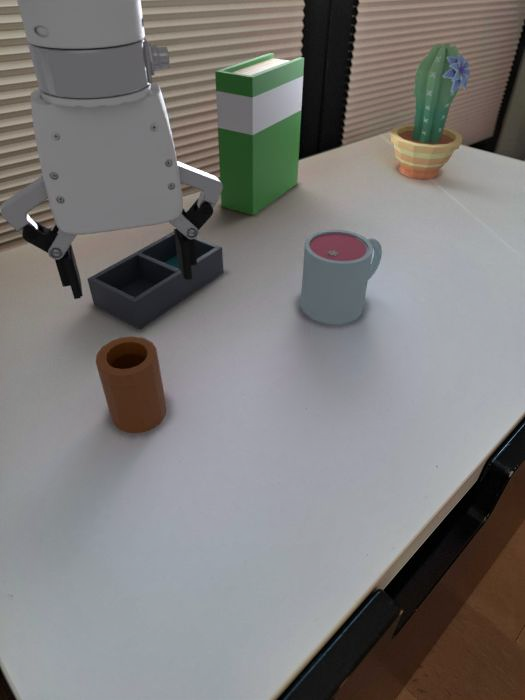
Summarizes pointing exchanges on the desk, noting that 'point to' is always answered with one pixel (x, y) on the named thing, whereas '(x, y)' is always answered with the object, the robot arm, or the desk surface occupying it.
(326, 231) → the mug
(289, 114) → the hardback book
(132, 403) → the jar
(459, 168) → the desk surface
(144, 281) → the divided tray
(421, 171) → the potted cactus
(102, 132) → the robot arm
